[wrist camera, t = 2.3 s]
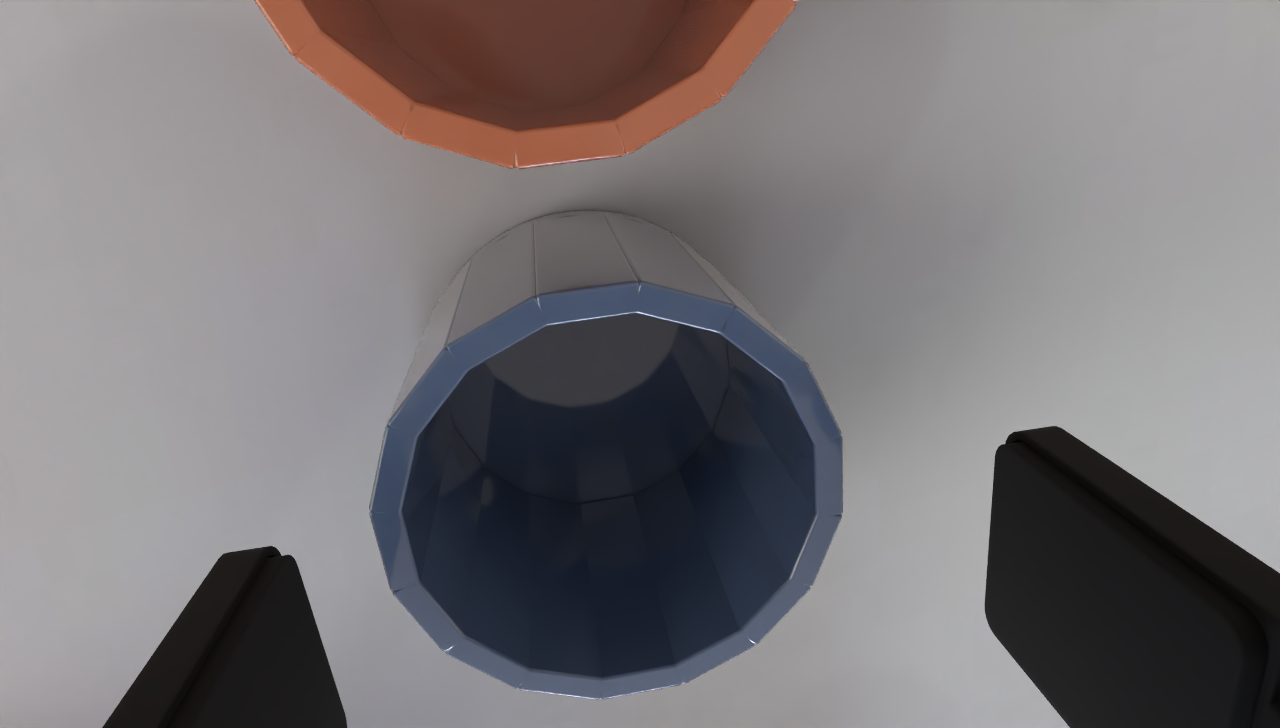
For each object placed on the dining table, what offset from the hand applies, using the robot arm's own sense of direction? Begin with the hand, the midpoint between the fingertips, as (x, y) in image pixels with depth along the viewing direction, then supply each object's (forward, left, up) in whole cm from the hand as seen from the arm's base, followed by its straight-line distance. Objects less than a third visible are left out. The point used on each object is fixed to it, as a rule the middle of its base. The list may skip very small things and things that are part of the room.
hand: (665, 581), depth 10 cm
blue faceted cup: (-1, 0, -7) cm, 7 cm away
